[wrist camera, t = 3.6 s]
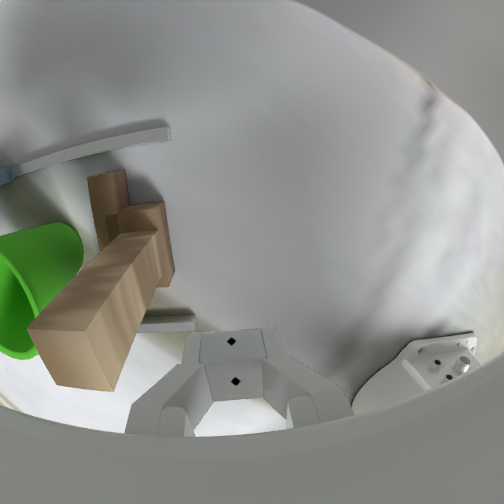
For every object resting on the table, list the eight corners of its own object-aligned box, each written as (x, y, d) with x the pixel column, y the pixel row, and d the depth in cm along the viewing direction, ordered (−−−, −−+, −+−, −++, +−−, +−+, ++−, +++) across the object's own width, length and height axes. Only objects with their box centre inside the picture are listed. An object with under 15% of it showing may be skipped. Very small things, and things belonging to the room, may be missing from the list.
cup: (75, 182, 20) (-10, 213, 10) (120, 272, 24) (66, 348, 13) (17, 226, 21) (-55, 268, 11) (58, 301, 24) (4, 368, 14)
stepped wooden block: (160, 163, 20) (46, 197, 6) (180, 300, 25) (148, 448, 11) (103, 173, 20) (-36, 222, 6) (129, 303, 24) (68, 435, 10)
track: (170, 127, 20) (167, 126, 19) (196, 323, 26) (195, 330, 25) (18, 166, 19) (11, 167, 18) (60, 325, 25) (55, 331, 24)
